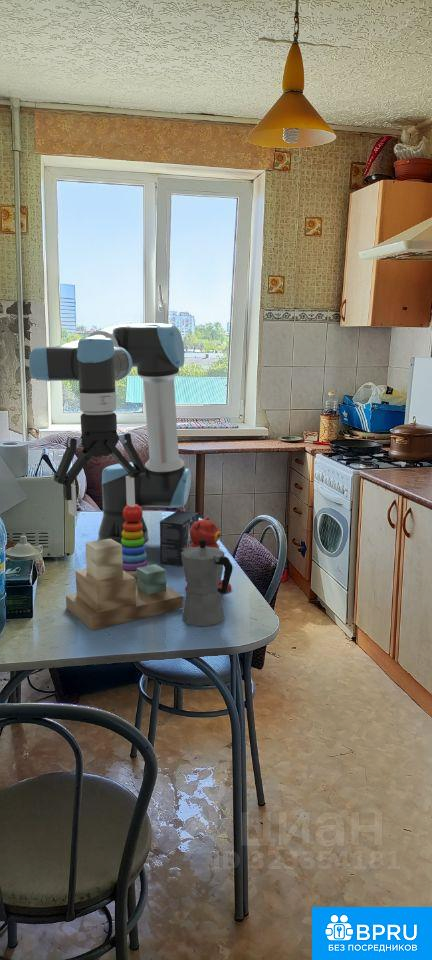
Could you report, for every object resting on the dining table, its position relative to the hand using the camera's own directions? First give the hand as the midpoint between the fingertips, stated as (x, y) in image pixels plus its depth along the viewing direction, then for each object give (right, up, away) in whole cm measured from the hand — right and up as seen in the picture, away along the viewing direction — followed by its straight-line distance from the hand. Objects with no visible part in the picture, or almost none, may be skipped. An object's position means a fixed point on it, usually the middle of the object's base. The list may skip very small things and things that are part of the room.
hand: (102, 510), depth 151 cm
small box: (+15, -15, +43) cm, 48 cm away
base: (+4, -23, +7) cm, 24 cm away
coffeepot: (+23, -24, 0) cm, 33 cm away
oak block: (0, -14, +3) cm, 15 cm away
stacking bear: (+22, -21, +17) cm, 35 cm away
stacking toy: (+3, -18, +30) cm, 35 cm away
